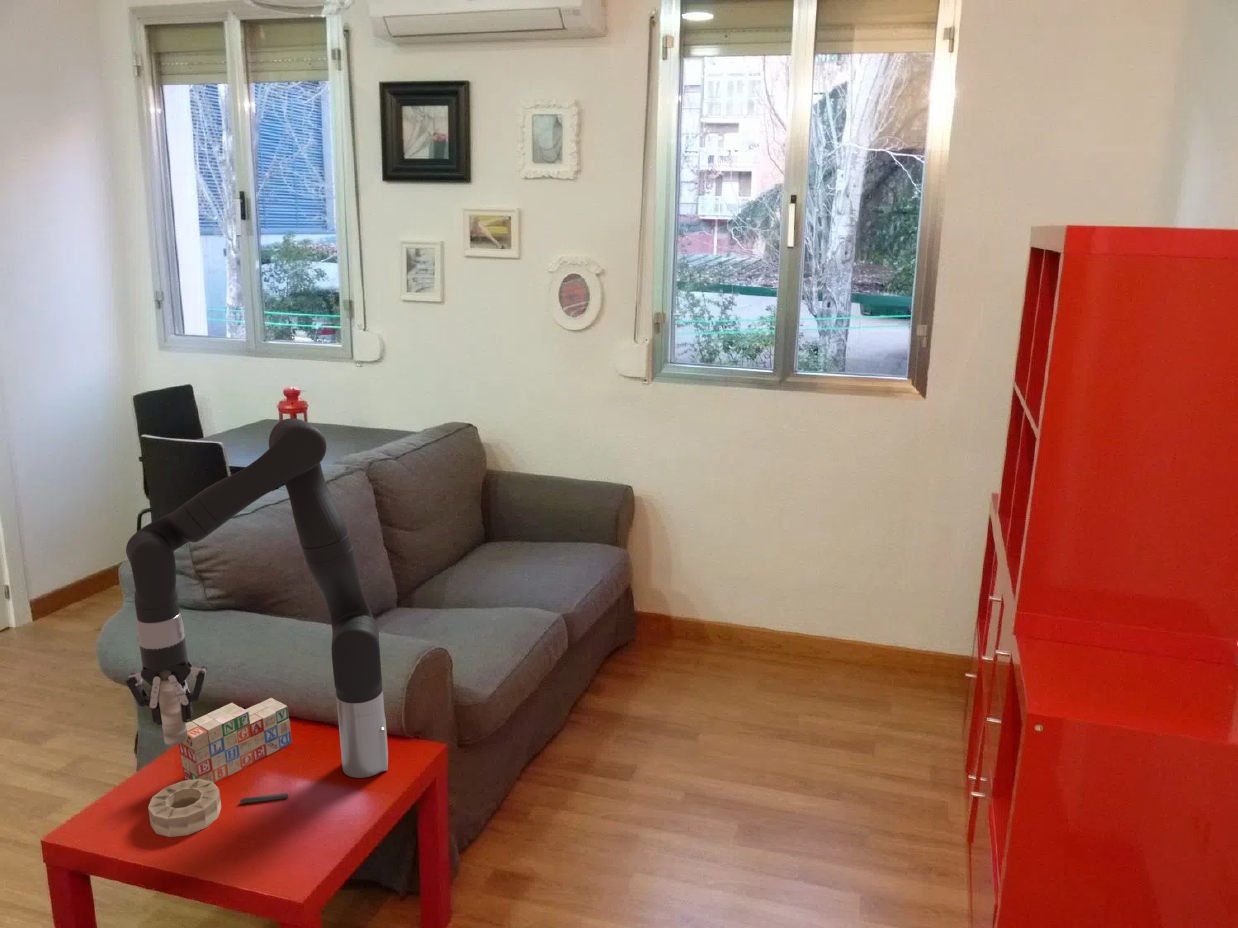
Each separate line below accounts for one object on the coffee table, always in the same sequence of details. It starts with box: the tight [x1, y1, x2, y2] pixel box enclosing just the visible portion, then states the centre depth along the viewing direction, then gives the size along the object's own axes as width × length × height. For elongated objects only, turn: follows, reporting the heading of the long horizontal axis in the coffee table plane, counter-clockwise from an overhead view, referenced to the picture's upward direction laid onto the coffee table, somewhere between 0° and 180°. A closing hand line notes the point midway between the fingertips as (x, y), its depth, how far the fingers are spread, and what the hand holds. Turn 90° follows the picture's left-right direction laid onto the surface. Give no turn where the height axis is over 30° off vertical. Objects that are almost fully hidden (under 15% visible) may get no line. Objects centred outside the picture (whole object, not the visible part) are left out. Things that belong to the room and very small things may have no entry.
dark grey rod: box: [239, 792, 289, 805], centre depth 185 cm, size 9×1×1 cm, turn 103°
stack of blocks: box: [178, 697, 292, 784], centre depth 196 cm, size 21×6×12 cm, turn 143°
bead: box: [147, 779, 222, 838], centre depth 180 cm, size 12×12×4 cm
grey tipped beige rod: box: [158, 670, 188, 746], centre depth 174 cm, size 4×4×15 cm
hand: (173, 721), depth 175 cm, fingers closed on grey tipped beige rod, 4 cm apart
